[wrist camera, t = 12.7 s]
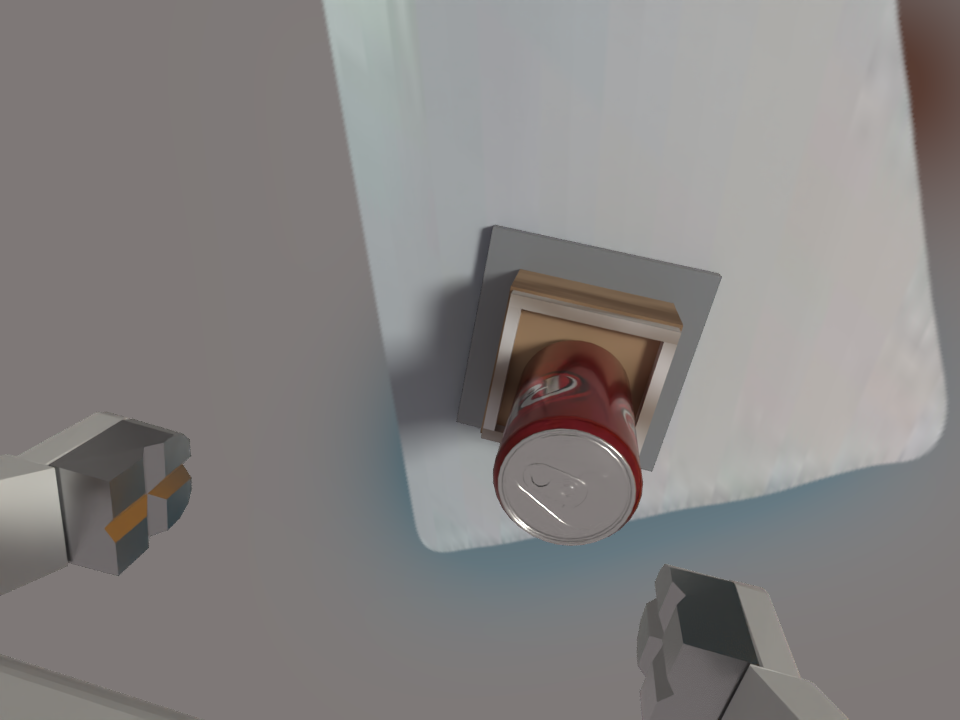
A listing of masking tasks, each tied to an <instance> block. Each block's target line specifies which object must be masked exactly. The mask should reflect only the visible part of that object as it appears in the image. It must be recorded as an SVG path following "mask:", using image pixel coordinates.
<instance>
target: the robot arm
mask: <svg viewBox="0 0 960 720" xmlns="http://www.w3.org/2000/svg"><path fill="white" fill-rule="evenodd" d="M189 457H191V451H190V439H189V438H187V437H186V436H185V435H184V434H182V433H178V432H175V431H172V430H169V429H165V428H162V427H159V426H155V425H152V424H148V423H145V422H142V421H138V420H135V419H129V418H127V417H123V416H119V415H116V414H113V413H109V412H96V413H94V414H92V415H90V416H89V417H87V418H85V419H84V420H81V421H80V422H78V423H76V424H74V425H72V426H71V427H69V428H67V429H65V430H63V431H62V432H60V433H58V434H56V435H54V436H53V437H51V438H49V439H47V440H46V441H44V442H42V443H40V444H38V445H37V446H35V447H33V448H31V449H29V450H28V451H26V452H24V453H22V454H20V455H19V456H17V457H16V456H12V455H8V454H7V455H2V456H0V596H1V595H3V594H5V593H8V592H10V591H12V590H15V589H17V588H19V587H21V586H24V585H26V584H28V583H30V582H33V581H35V580H37V579H39V578H41V577H44V576H46V575H48V574H51V573H53V572H55V571H57V570H59V569H62V568H64V567H66V566H68V563H71V564H75V565H78V566H82V567H86V568H90V569H93V570H97V571H101V572H105V573H108V574H112V575H116V576H119V575H120V574H121V573H122V572H123V571H124V570H125V569H127V568H128V566H130V565H131V564H132V563H133V562H134V561H135V560H136V559H137V558H139V557H140V556H141V555H142V554H143V553H144V552H145V551H146V550H147V549H148V548H149V539H150V536H153V535H156V534H158V533H161V532H164V531H167V530H169V529H170V528H171V527H172V526H173V525H174V524H175V523H176V522H177V520H179V519H180V517H181V515H182V514H183V512H184V510H185V508H186V506H187V505H188V502H189V499H190V494H191V490H192V485H191V484H192V480H191V479H192V478H191V476H190V475H189V473H188V472H187V470H186V468H185V467H184V465H183V464H184V463H185V462H186V461H187V460H188V459H189ZM655 588H656V599H654V600H652V601H651V602H649V603H647V604H646V606H645V609H644V612H643V615H642V618H641V621H640V626H639V631H638V637H637V662H638V667H639V668H640V670H641V671H642V673H643V674H644V675H645V677H646V678H645V680H644V683H643V685H642V687H641V690H640V701H641V711H642V720H849V719H848V718H847V717H846V716H845V715H844V714H843V713H842V712H841V711H840V710H839V709H838V707H836V705H834V704H833V703H832V701H830V699H829V698H827V696H825V694H824V693H822V691H821V690H820V689H819V688H818V687H817V686H816V685H815V684H814V683H813V682H811V681H808V680H805V679H801V677H800V674H799V672H798V669H797V666H796V664H795V662H794V659H793V656H792V654H791V651H790V648H789V646H788V643H787V640H786V638H785V635H784V633H783V630H782V628H781V625H780V622H779V620H778V617H777V615H776V612H775V610H774V607H773V604H772V602H771V599H770V596H769V594H768V592H767V591H765V589H763V588H761V587H757V586H753V585H749V584H745V583H741V582H736V581H733V580H729V581H728V580H724V579H720V578H716V577H713V576H709V575H705V574H701V573H698V572H694V571H690V570H686V569H683V568H679V567H675V566H671V565H667V564H664V566H663V567H662V568H661V569H660V571H659V573H658V576H657V578H656V581H655ZM0 720H203V719H199V718H197V717H194V716H191V715H188V714H184V713H181V712H178V711H175V710H172V709H169V708H166V707H163V706H159V705H156V704H153V703H151V702H147V701H144V700H141V699H138V698H135V697H132V696H129V695H126V694H123V693H120V692H116V691H113V690H110V689H107V688H104V687H101V686H98V685H95V684H92V683H89V682H86V681H82V680H79V679H76V678H73V677H70V676H67V675H64V674H61V673H58V672H54V671H51V670H48V669H45V668H42V667H39V666H36V665H33V664H29V663H27V662H23V661H20V660H17V659H14V658H11V657H8V656H5V655H2V654H0Z"/></svg>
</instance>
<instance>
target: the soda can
mask: <svg viewBox="0 0 960 720" xmlns="http://www.w3.org/2000/svg"><path fill="white" fill-rule="evenodd" d="M493 484H494V488H495V492H496V496H497V498H498V500H499V502H500V504H501V506H502V508H503V510H504V511H505V512H506V514H507V515H508V516H509V518H510V519H511V520H512V521H514V522H515V523H516V524H517V525H518V526H519V527H520V528H522V529H523V530H525V531H526V532H528V533H529V534H531V535H532V536H534V537H537V538H539V539H541V540H543V541H547V542H550V543H554V544H559V545H569V546H572V545H584V544H589V543H593V542H597V541H599V540H601V539H604V538H606V537H609V536H610V535H612V534H613V533H615V532H617V531H618V530H620V529H621V528H622V527H623V526H624V525H625V524H626V523H627V522H628V521H629V520H630V519H631V517H632V515H633V514H634V512H635V511H636V509H637V507H638V505H639V502H640V499H641V496H642V487H643V479H642V472H641V464H640V457H639V449H638V442H637V434H636V427H635V419H634V412H633V404H632V397H631V389H630V382H629V379H628V376H627V373H626V371H625V369H624V368H623V366H622V365H621V363H620V361H619V360H618V359H617V358H616V357H615V356H614V355H613V354H612V353H610V352H609V351H607V350H606V349H604V348H603V347H600V346H598V345H596V344H594V343H590V342H586V341H580V340H567V341H560V342H557V343H554V344H551V345H548V346H547V347H545V348H543V349H541V350H540V351H538V352H537V353H536V354H535V355H534V356H533V357H532V358H531V359H530V360H529V362H528V363H527V364H526V366H525V368H524V370H523V372H522V374H521V377H520V380H519V383H518V387H517V390H516V393H515V396H514V400H513V403H512V406H511V410H510V413H509V416H508V419H507V423H506V426H505V429H504V433H503V436H502V439H501V442H500V446H499V449H498V452H497V455H496V459H495V463H494V468H493Z"/></svg>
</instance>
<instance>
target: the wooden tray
mask: <svg viewBox="0 0 960 720" xmlns="http://www.w3.org/2000/svg"><path fill="white" fill-rule="evenodd" d="M682 328H683V323H682V321H681V319H680V317H679V314H678V312H677V310H676V308H675V305H674V303H670V302H665V301H661V300H656V299H652V298H648V297H643V296H639V295H634V294H630V293H625V292H621V291H616V290H612V289H607V288H603V287H599V286H594V285H590V284H585V283H581V282H576V281H572V280H567V279H563V278H558V277H554V276H550V275H545V274H541V273H536V272H532V271H527V270H523V269H520V270H519V272H518V274H517V276H516V278H515V279H514V281H513V283H512V285H511V288H510V292H509V297H508V302H507V307H506V312H505V316H504V321H503V326H502V331H501V336H500V340H499V345H498V350H497V355H496V360H495V364H494V369H493V374H492V379H491V384H490V388H489V393H488V398H487V403H486V408H485V412H484V417H483V422H482V427H481V432H480V433H482V435H481V438H483V439H487V440H491V441H495V442H499V443H500V442H501V439H502V436H503V433H504V429H505V426H506V423H507V419H508V416H509V413H510V410H511V406H512V403H513V400H514V396H515V393H516V390H517V387H518V383H519V380H520V377H521V374H522V372H523V370H524V368H525V366H526V364H527V363H528V362H529V360H530V359H531V358H532V357H533V356H534V355H535V354H536V353H537V352H538V351H540V350H541V349H543V348H545V347H547V346H548V345H551V344H554V343H557V342H560V341H567V340H580V341H586V342H590V343H594V344H596V345H598V346H600V347H603V348H604V349H606V350H607V351H609V352H610V353H612V354H613V355H614V356H615V357H616V358H617V359H618V360H619V361H620V363H621V365H622V366H623V368H624V369H625V371H626V373H627V376H628V379H629V382H630V389H631V397H632V404H633V412H634V419H635V427H636V434H637V442H638V449H639V455H640V452H641V449H642V446H643V443H644V440H645V437H646V435H647V432H648V429H649V426H650V423H651V420H652V417H653V414H654V411H655V408H656V405H657V403H658V400H659V397H660V394H661V391H662V388H663V385H664V382H665V379H666V376H667V373H668V370H669V368H670V365H671V362H672V359H673V356H674V353H675V350H676V347H677V344H678V341H679V338H680V336H681V331H682Z"/></svg>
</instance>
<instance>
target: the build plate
mask: <svg viewBox="0 0 960 720" xmlns="http://www.w3.org/2000/svg"><path fill="white" fill-rule="evenodd" d="M520 269H523V270H527V271H532V272H536V273H541V274H545V275H550V276H554V277H558V278H563V279H567V280H572V281H576V282H581V283H585V284H590V285H594V286H599V287H603V288H607V289H612V290H616V291H621V292H625V293H630V294H634V295H639V296H643V297H648V298H652V299H656V300H661V301H665V302H670V303H674V305H675V308H676V310H677V312H678V314H679V317H680V319H681V321H682V323H683V328H682V331H681V336H680V338H679V341H678V344H677V347H676V350H675V353H674V356H673V359H672V362H671V365H670V368H669V370H668V373H667V376H666V379H665V382H664V385H663V388H662V391H661V394H660V397H659V400H658V403H657V405H656V408H655V411H654V414H653V417H652V420H651V423H650V426H649V429H648V432H647V435H646V437H645V440H644V443H643V446H642V449H641V452H640V455H639V457H640V464H641V469H644V470H647V471H651V472H652V471H653V468H654V465H655V462H656V459H657V457H658V454H659V451H660V448H661V445H662V443H663V440H664V437H665V434H666V432H667V429H668V426H669V423H670V420H671V418H672V415H673V412H674V409H675V406H676V404H677V401H678V398H679V395H680V393H681V390H682V387H683V384H684V381H685V379H686V376H687V373H688V370H689V367H690V365H691V362H692V359H693V356H694V353H695V351H696V348H697V345H698V342H699V340H700V337H701V334H702V331H703V328H704V326H705V323H706V320H707V317H708V314H709V312H710V309H711V306H712V303H713V300H714V298H715V295H716V292H717V289H718V287H719V284H720V281H721V278H722V276H721V275H720V274H719V273H714V272H710V271H705V270H700V269H696V268H691V267H687V266H682V265H677V264H673V263H668V262H664V261H659V260H654V259H650V258H645V257H641V256H636V255H631V254H627V253H622V252H618V251H613V250H608V249H604V248H599V247H595V246H590V245H585V244H581V243H576V242H572V241H567V240H562V239H558V238H553V237H549V236H544V235H539V234H535V233H530V232H526V231H521V230H516V229H512V228H507V227H503V226H498V225H495V226H493V229H492V235H491V240H490V245H489V251H488V256H487V261H486V267H485V272H484V277H483V283H482V288H481V293H480V299H479V304H478V309H477V315H476V320H475V325H474V331H473V336H472V341H471V347H470V352H469V357H468V363H467V368H466V373H465V379H464V384H463V389H462V395H461V400H460V405H459V411H458V416H457V421H456V422H459V423H463V424H467V425H471V426H475V427H479V428H481V427H482V422H483V417H484V412H485V408H486V403H487V398H488V393H489V388H490V384H491V379H492V374H493V369H494V364H495V360H496V355H497V350H498V345H499V340H500V336H501V331H502V326H503V321H504V316H505V312H506V307H507V302H508V297H509V292H510V288H511V285H512V283H513V281H514V279H515V278H516V276H517V274H518V272H519V270H520Z"/></svg>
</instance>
